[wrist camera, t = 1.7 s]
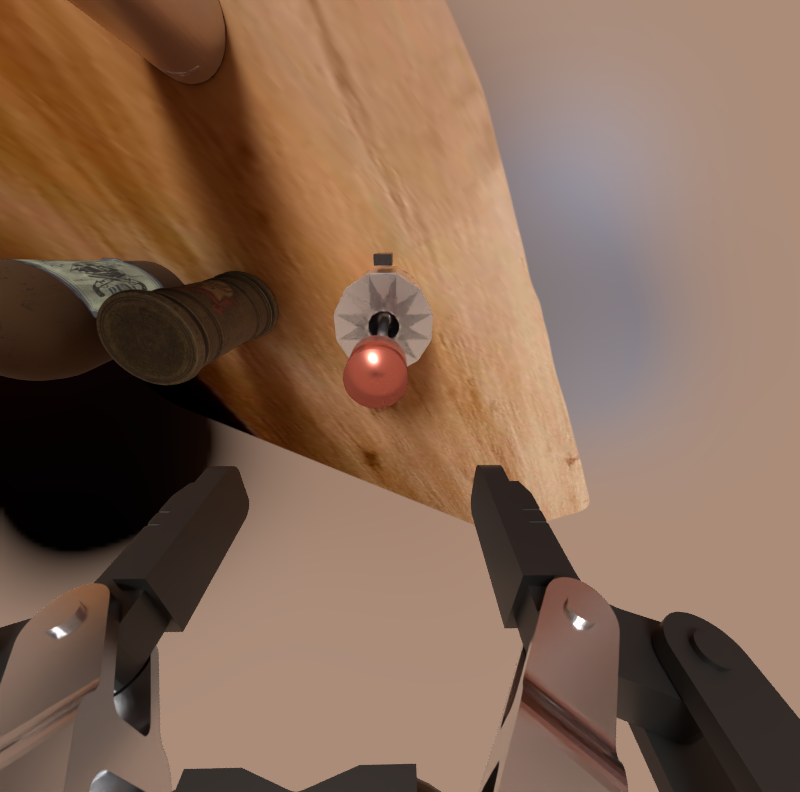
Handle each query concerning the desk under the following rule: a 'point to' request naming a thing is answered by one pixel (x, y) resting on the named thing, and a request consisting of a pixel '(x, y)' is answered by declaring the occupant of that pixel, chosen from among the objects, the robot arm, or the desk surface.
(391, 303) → the press carafe
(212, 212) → the desk surface
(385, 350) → the plunger
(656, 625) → the robot arm
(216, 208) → the desk surface
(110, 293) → the olive oil
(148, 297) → the container
